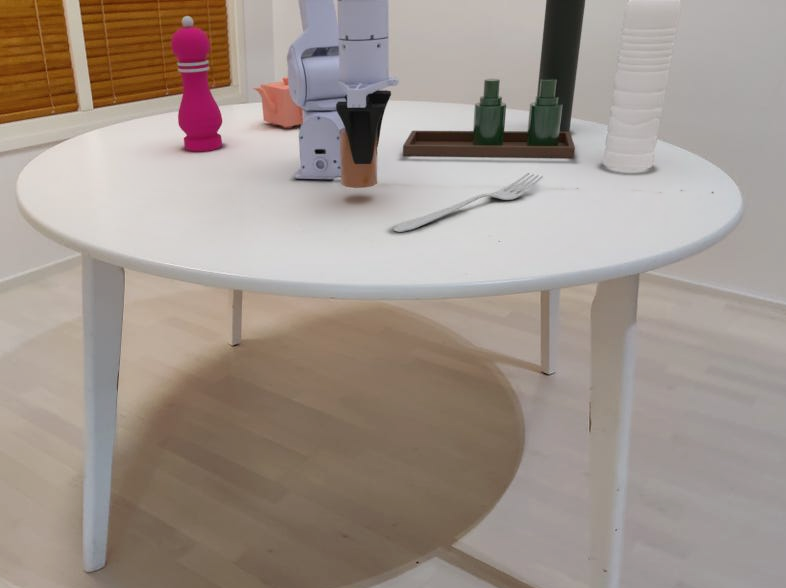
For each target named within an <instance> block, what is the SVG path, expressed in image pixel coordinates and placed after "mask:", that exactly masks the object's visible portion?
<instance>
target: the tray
mask: <svg viewBox="0 0 786 588" xmlns="http://www.w3.org/2000/svg"><path fill="white" fill-rule="evenodd" d="M527 131H528V130H527ZM527 131H525V130H523V131H522V130H521V131H520V130H506V131H505V130H504V141H503V146H490V145H473V130H412V131H410V133H409V135H408V137H407V139H406V140H405V142H404V144H403V146H402V157H428V158H429V157H430V158H431V157H433V158H434V157H435V158H436V157H438V158H439V157H443V158H500V159H503V158H504V159H505V158H506V159H507V158H508V159H509V158H511V159H573V160H574V159H575V150H576V147H575V143H574V140H573V136H572V133H571V131H568V132H559V140H558V146H526V142H527Z"/></svg>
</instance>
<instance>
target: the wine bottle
mask: <svg viewBox="0 0 786 588" xmlns="http://www.w3.org/2000/svg"><path fill="white" fill-rule="evenodd" d="M585 7H586V0H546V1H545V8H544V9H545V10H544V19H543V20H544V21H543V31H542V40H541V41H542V42H541V49H540V51H541V52H540V62H539V71H538V82H537V92H536V96H539V93H540V83H541V79H544V78H554V79H556V80H557V81H556V90H555V96H558V102H559V103H562V104H563V105H562V114H561V122H560V131H559V132H570V130H571V122H572V115H573V114H572V113H573V105H574V97H575V88H576V79H577V71H578V65H579V64H578V63H579V56H580V48H581V39H582V32H583V23H584V16H585V15H584V14H585V9H586V8H585Z"/></svg>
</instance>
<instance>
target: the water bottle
mask: <svg viewBox="0 0 786 588" xmlns="http://www.w3.org/2000/svg"><path fill="white" fill-rule="evenodd" d="M681 1H682V0H628V1H627V3H626V6H625V9H624V12H623V13H624V14H623V22H622V26H623V27H622V30H621V34H622V35H621V37H620V43H619V47H620V48H619V50H618V54H619V55H618V57H617V61H618V62H617V64H616V71H615V76H614V81H613V87H614V88H613V90H612V96H611V105H610V108H609V115H610V116H609V118H608V122H607V133H606V136H605V141H604V142H605V143H604V144H605V145H604V146H605V148H604V149H603V155H602V162H601V163H602V165H604V166H605V167H607V168H610V169H616V170H621V171H622V170H623V171H624V170H625V171H640V170H641V171H642V170H646V169H647V170H648V169H650V168H652V167H653V165H654V159H655V149H656V147H657V142H658V134H659V131H660V126H661V125H660V124H661V120H660V119H661V117H662V114H663V105H664V102H665V97H666V88H667V86H668V82H669V75H670V68H671V62H672V58H673V57H672V55H673V54H674V45H675V40H676V34H677V31H678V28H677V27H678V24H679V21H680V16H681V11H682V2H681Z"/></svg>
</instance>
